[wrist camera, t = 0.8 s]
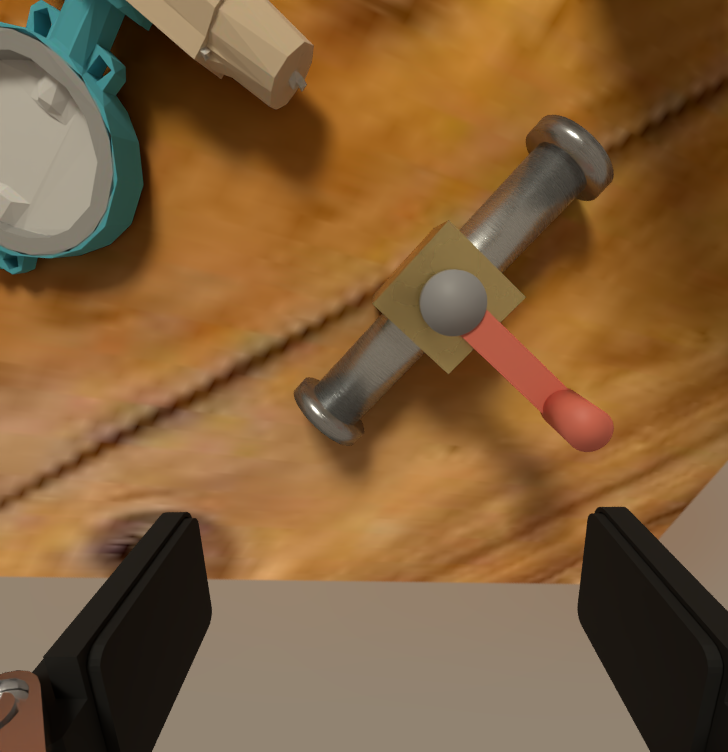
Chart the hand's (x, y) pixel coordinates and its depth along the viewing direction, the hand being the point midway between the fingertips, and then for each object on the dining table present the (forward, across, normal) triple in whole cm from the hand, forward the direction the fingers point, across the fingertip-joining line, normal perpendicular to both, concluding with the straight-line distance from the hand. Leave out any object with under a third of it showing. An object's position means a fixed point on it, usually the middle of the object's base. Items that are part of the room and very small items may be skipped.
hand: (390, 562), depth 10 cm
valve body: (+28, -4, -4) cm, 28 cm away
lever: (+19, -8, -1) cm, 21 cm away
